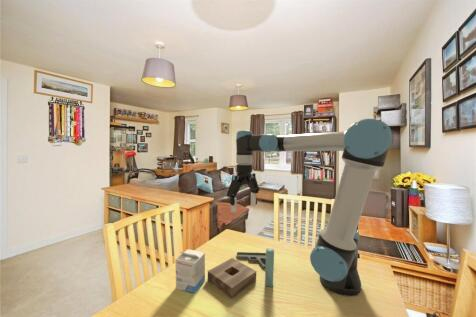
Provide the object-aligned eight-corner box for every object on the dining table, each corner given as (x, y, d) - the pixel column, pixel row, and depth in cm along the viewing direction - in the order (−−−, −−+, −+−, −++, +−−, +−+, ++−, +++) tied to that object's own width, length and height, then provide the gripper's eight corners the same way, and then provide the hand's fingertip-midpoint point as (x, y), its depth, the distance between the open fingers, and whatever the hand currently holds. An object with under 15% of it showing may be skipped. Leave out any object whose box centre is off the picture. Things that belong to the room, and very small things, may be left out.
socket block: (256, 280, 83) (256, 271, 83) (231, 298, 73) (232, 288, 73) (231, 266, 93) (232, 257, 93) (207, 280, 83) (207, 271, 83)
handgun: (273, 266, 91) (270, 252, 103) (236, 265, 91) (237, 251, 103) (273, 271, 91) (270, 256, 103) (236, 270, 91) (236, 255, 103)
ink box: (205, 280, 83) (205, 248, 82) (194, 294, 75) (195, 259, 74) (187, 275, 86) (187, 244, 85) (175, 288, 78) (175, 254, 77)
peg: (274, 284, 82) (275, 250, 81) (270, 288, 79) (271, 253, 78) (268, 280, 84) (269, 247, 83) (263, 284, 81) (264, 250, 81)
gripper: (255, 162, 107) (254, 202, 108) (218, 165, 89) (218, 212, 90) (266, 163, 102) (266, 205, 103) (230, 166, 84) (230, 216, 85)
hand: (244, 208), depth 96 cm, fingers open, 13 cm apart
